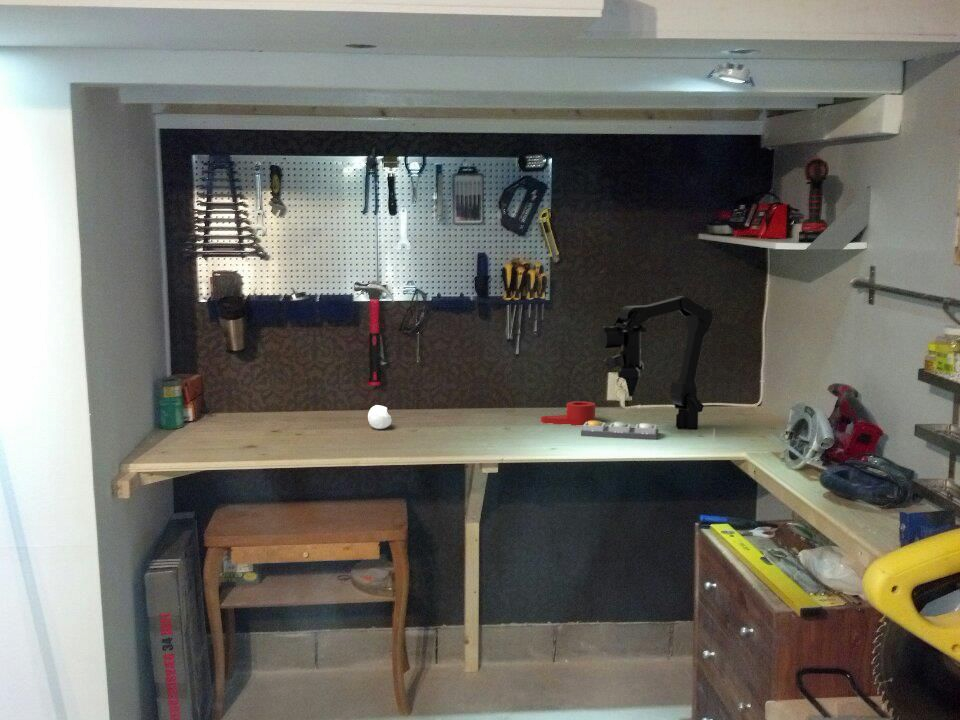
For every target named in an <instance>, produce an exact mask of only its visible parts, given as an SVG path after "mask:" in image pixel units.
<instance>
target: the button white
mask: <svg viewBox="0 0 960 720" xmlns="http://www.w3.org/2000/svg"><path fill="white" fill-rule="evenodd" d="M638 424H639V428H653V425H654V424H653V423H649V422H642V423H641V422H640V423H638Z"/></svg>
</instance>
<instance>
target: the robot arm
mask: <svg viewBox="0 0 960 720" xmlns="http://www.w3.org/2000/svg"><path fill="white" fill-rule="evenodd" d="M676 311H678V312H679V313H681V315H682V316H684V317H685V318H686V320H685V326H686V329H687V333H688V334H687V340H686V345H685V350H684V356H683V359H682V365H681V369H680V375H679V378H678V379H677V380H676V381H671V388H670V391H669V394H670V397H669V398H670V400H671V401H672V403H673V406H674V408H675V409H677V410H678V412H677V413H676V417H675V423H676V424H675V427H676V429H678V430H686V431H687V430H689V431H691V430H693V431H698V430H699V413H702V412H703V409H704V407H705V406H704V404H703V403H702V401H700V400H699V399H698V387H697V384H696V376H697V372H698V367H699V362H700V357H701V353H702V346H703V342H704V338H705V336H706V335H707V333H708V332H709V331H710V329H711V327H712V324H713V321H714V313H713V312H712V310H711V309H710V308H708V307H707V308H705V307H703V306H702V305H700V304H699V303H697V302H694V301H693V300H691V299H690V298H689V297H687V296H681V295H677V296H675V297H672V298H667V299H664V300H660V301H657V302H656V301H655V302H653V303H649V304H645V305H626V306H623V307H621V309H620V311H619V314H618V315H617V318H616V319H615V321H614V323H613V324H612V326H601V330H600V331H599V333H598V336H597V342H598V346H599V348H601V349H603V350H605V349H607V350H608V349H619V348H621V350H620V352H619V354H617V355H613V356H612V355H610V356H607V357H606V358H605V359H604V360H603V364H604V365H603V366H604V367H605V370H606V371H610V370H611V369H614V368H617V367H620V368H619V370H618V372H617V378H622V379H623V380H624V381H625V384H626V389H627V393H628V396H629V397H633V396H634V395H635V392H636V389H637V386H638V384H639V381H640V379H641V376H642V372H641V371H644V363H643V361H642V360H641V353H642V349H641V341H642V340H641V333H646V332H647V331H648V329H647V328H645V326H643V324H644V323H646V322H648V321H649V320H650V319H652V318H654V317H657V316H663V315H667V314H668V313H674V312H676Z"/></svg>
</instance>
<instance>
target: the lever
mask: <svg viewBox="0 0 960 720" xmlns="http://www.w3.org/2000/svg"><path fill="white" fill-rule="evenodd" d="M591 420H596V403H595V402H593V401H586V400H585V401H583V400H574V401H568V402H566V414H559V415H556V414H555V415H543V416H540V423H541V422H543V423H542V424H547V423H553V424H552V425H561V424H571V425H570V426H576V425H584V424H585V422H588V421H591Z"/></svg>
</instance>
